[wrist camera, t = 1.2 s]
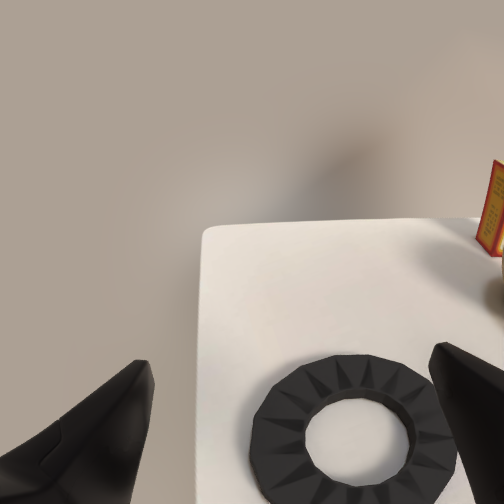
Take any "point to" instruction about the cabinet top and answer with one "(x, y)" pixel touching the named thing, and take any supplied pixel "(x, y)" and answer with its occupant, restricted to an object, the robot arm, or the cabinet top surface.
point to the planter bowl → (503, 263)
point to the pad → (332, 390)
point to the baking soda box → (493, 213)
